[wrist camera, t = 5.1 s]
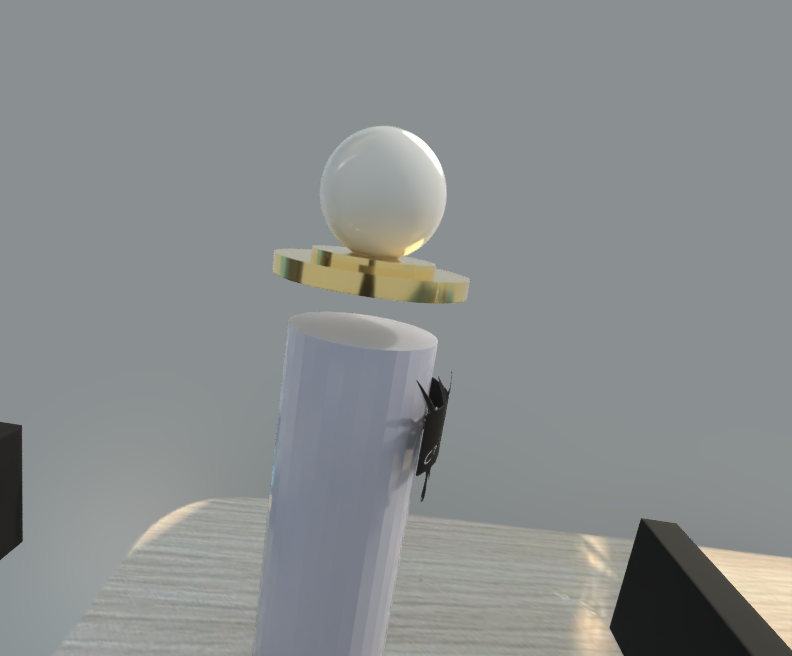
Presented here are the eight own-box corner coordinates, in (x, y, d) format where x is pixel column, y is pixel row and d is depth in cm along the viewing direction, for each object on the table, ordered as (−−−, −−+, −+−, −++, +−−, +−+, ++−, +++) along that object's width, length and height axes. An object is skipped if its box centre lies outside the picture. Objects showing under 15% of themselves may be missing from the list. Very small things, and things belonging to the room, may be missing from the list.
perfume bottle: (205, 791, 15) (270, 80, 11) (248, 633, 20) (302, 128, 16) (394, 798, 15) (525, 126, 11) (385, 643, 21) (470, 157, 17)
